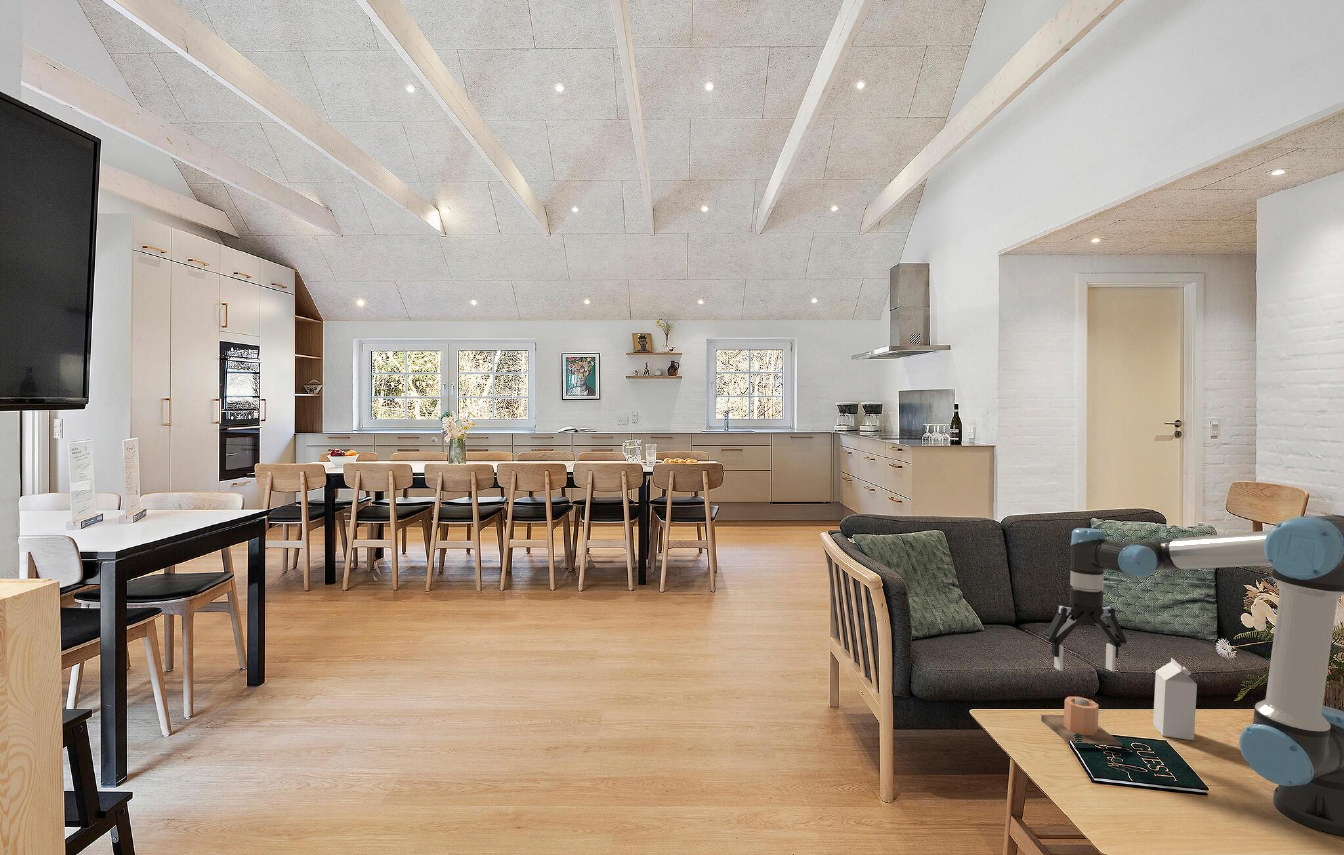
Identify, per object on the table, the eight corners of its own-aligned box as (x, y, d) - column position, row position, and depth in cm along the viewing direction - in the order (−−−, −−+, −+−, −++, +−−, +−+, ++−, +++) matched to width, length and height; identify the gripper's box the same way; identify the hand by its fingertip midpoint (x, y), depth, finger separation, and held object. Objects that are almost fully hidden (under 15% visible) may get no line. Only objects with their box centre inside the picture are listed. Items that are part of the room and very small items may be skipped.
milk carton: (1162, 736, 186) (1166, 665, 186) (1152, 725, 193) (1156, 656, 192) (1194, 741, 184) (1197, 668, 183) (1183, 729, 191) (1186, 659, 190)
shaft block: (1122, 749, 178) (1124, 714, 178) (1074, 748, 178) (1076, 713, 178) (1084, 721, 194) (1086, 688, 194) (1041, 720, 194) (1042, 687, 194)
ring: (1102, 735, 183) (1103, 708, 182) (1074, 734, 183) (1075, 707, 182) (1085, 722, 190) (1087, 696, 190) (1059, 722, 190) (1060, 696, 190)
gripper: (1124, 585, 189) (1122, 665, 189) (1031, 584, 189) (1029, 663, 189) (1143, 592, 181) (1141, 675, 182) (1046, 590, 181) (1044, 673, 181)
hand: (1084, 669), depth 185 cm, fingers open, 13 cm apart
